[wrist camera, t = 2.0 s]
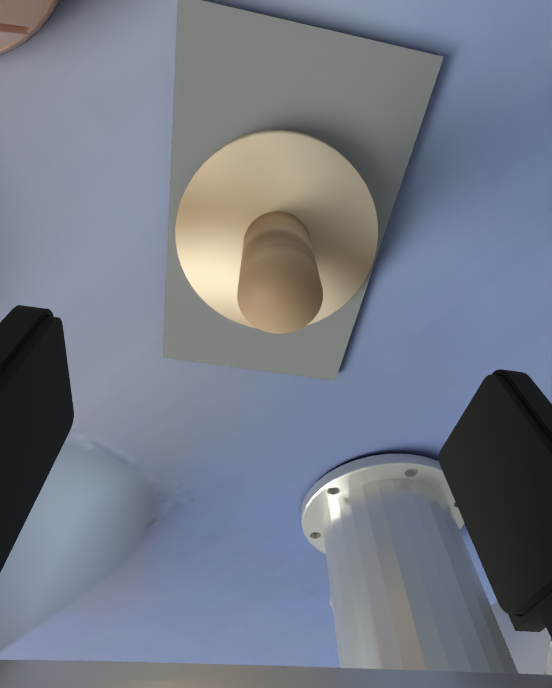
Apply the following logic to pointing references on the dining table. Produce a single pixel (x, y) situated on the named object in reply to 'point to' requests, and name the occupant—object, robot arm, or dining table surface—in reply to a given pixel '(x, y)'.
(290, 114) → the mat
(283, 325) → the lid
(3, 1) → the bowl
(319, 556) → the dining table surface
